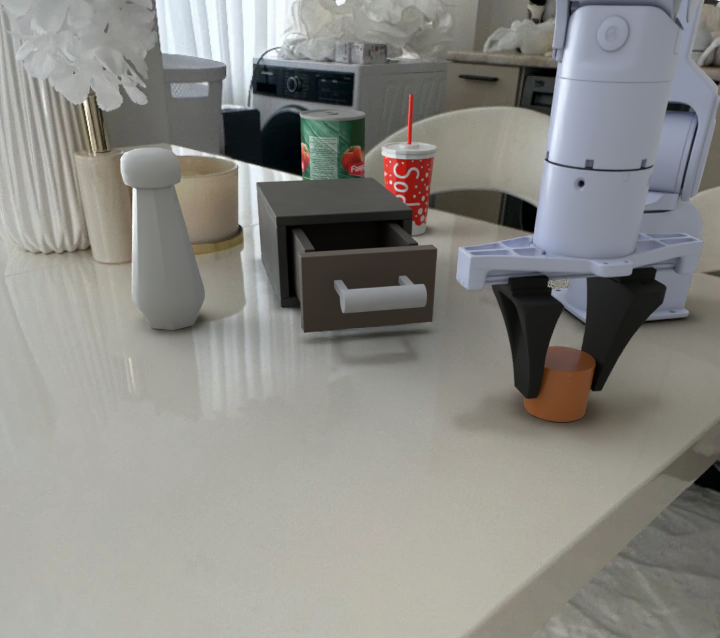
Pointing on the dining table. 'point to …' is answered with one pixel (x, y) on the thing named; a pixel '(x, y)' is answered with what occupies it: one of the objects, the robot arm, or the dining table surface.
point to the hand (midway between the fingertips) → (557, 388)
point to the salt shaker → (161, 242)
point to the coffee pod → (563, 385)
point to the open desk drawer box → (317, 216)
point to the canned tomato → (332, 144)
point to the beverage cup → (410, 173)
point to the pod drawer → (360, 275)
